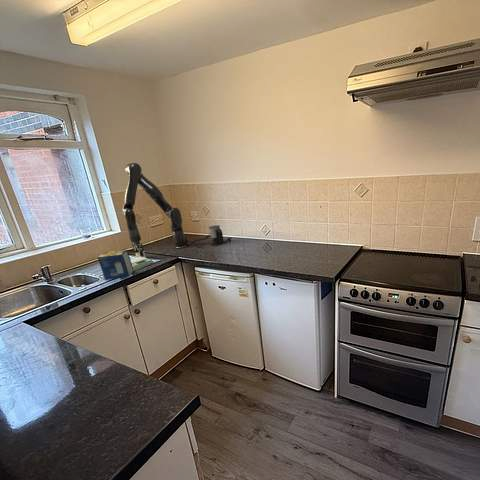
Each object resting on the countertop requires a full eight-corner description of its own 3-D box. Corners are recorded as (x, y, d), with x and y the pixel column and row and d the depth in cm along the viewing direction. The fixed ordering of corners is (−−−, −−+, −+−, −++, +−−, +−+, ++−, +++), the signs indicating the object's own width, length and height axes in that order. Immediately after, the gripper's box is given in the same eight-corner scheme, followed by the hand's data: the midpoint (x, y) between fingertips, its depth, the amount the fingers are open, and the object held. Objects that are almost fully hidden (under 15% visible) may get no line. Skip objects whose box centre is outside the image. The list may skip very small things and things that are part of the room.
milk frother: (209, 245, 248) (206, 227, 243) (222, 239, 260) (219, 223, 255) (222, 246, 241) (219, 228, 235) (234, 240, 253) (231, 223, 248)
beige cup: (143, 256, 236) (141, 250, 235) (147, 257, 232) (145, 251, 231) (136, 259, 232) (134, 253, 231) (139, 260, 228) (137, 254, 226)
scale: (142, 259, 229) (141, 255, 228) (152, 262, 218) (151, 258, 217) (124, 265, 220) (122, 261, 219) (133, 269, 209) (132, 264, 208)
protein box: (111, 274, 204) (104, 252, 198) (134, 271, 204) (127, 249, 199) (104, 279, 194) (96, 257, 189) (128, 276, 195) (121, 254, 189)
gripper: (143, 234, 223) (149, 255, 229) (135, 233, 233) (140, 253, 239) (133, 236, 218) (139, 258, 224) (125, 235, 228) (131, 256, 234)
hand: (140, 255), depth 231 cm, fingers open, 6 cm apart
